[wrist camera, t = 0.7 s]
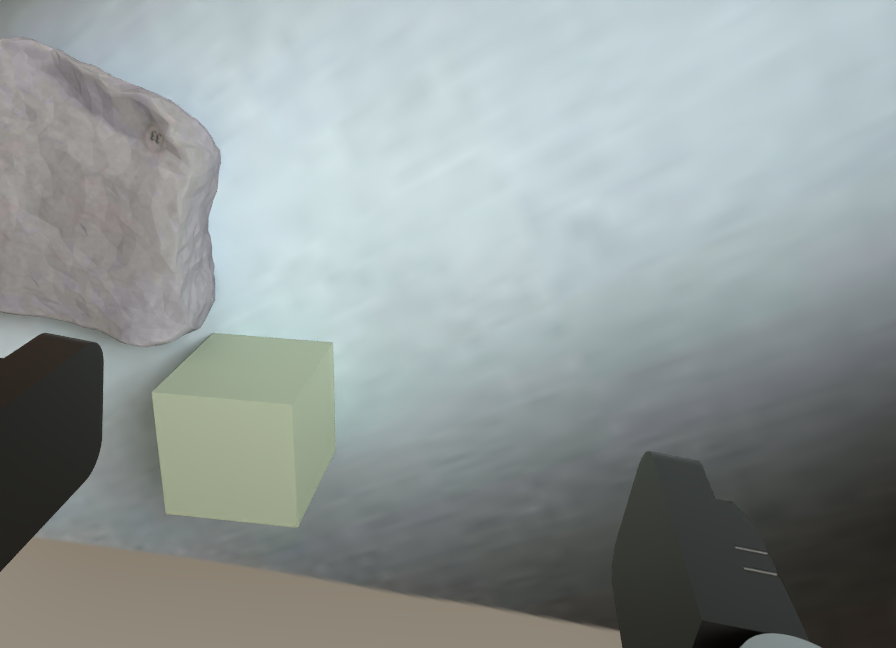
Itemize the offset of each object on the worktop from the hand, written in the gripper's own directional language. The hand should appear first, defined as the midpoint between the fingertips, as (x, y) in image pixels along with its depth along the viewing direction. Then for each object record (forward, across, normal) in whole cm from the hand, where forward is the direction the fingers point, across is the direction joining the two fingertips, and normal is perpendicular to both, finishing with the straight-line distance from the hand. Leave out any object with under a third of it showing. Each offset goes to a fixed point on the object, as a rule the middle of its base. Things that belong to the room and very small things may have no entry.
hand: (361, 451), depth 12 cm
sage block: (+20, +6, +10) cm, 23 cm away
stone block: (+20, +14, +2) cm, 25 cm away
